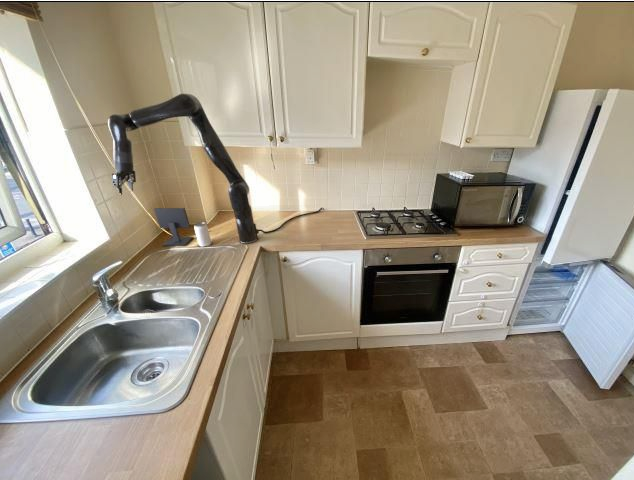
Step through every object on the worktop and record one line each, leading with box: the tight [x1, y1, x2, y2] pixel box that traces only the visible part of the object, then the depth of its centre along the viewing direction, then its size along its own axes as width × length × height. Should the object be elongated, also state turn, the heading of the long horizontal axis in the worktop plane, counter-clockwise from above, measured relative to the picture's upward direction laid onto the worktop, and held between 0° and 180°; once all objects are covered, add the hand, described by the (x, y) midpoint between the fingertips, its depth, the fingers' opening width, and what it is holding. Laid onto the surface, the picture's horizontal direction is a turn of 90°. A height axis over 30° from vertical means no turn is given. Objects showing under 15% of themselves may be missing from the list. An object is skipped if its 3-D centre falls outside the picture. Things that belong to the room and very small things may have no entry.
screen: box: [153, 207, 191, 229], centre depth 153 cm, size 1×16×11 cm, turn 91°
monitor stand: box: [162, 222, 194, 247], centre depth 156 cm, size 10×12×12 cm
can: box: [193, 221, 212, 248], centre depth 154 cm, size 6×6×12 cm
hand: (124, 192), depth 141 cm, fingers open, 8 cm apart
